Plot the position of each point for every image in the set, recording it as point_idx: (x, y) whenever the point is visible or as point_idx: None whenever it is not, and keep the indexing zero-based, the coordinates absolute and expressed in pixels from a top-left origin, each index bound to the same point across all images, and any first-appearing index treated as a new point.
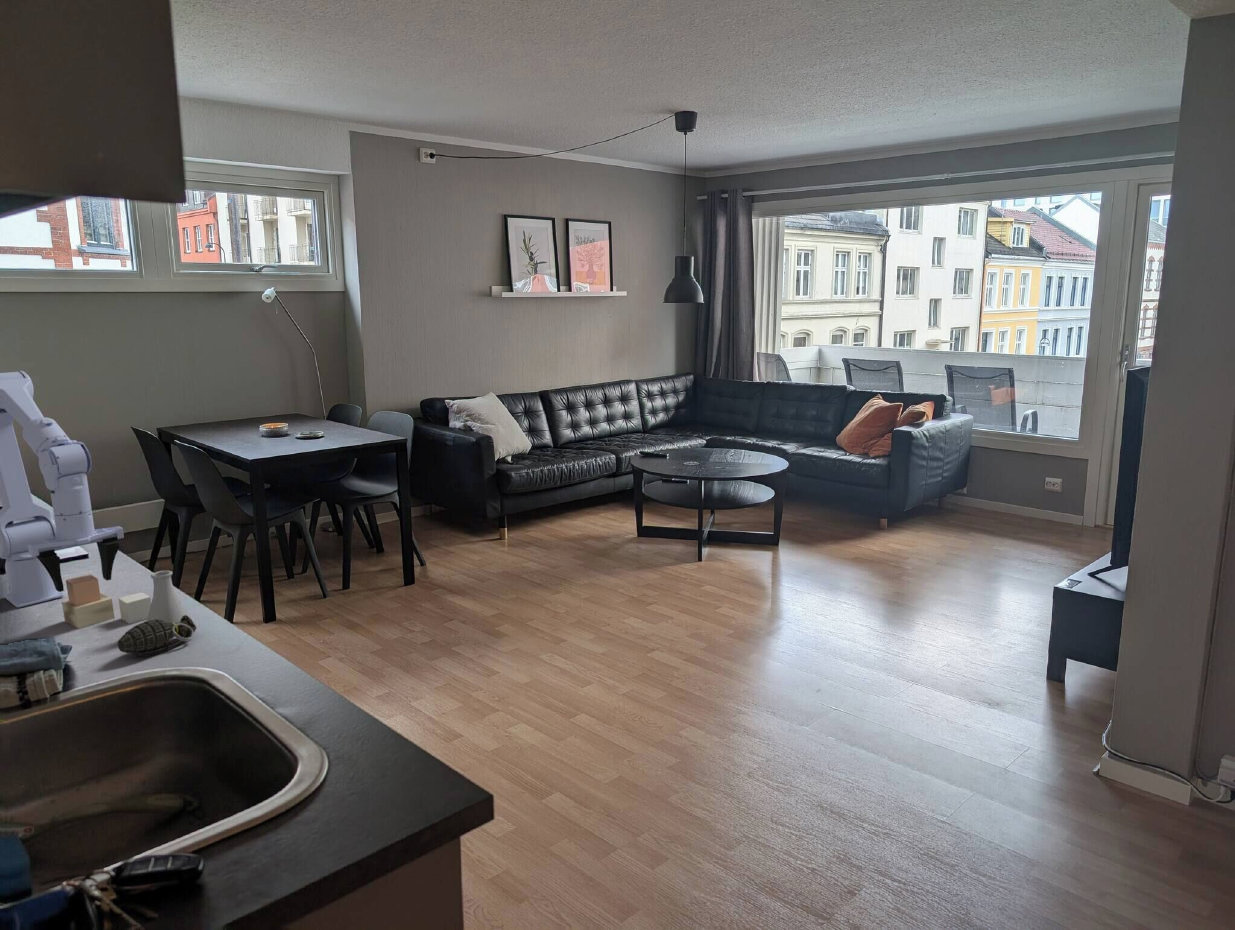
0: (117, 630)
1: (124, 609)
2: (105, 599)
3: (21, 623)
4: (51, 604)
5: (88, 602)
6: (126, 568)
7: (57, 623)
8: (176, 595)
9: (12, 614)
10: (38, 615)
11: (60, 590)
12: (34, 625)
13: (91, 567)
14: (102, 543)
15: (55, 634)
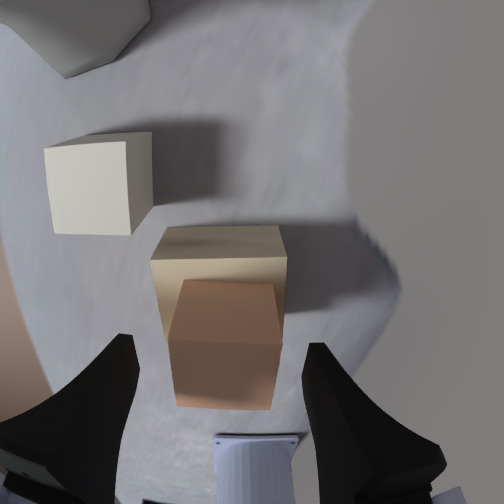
0: (203, 98)
1: (138, 171)
2: (170, 269)
3: None
4: (246, 420)
5: (228, 282)
6: None
7: (294, 313)
8: None
9: None
10: (293, 387)
11: (323, 345)
12: (332, 338)
13: (144, 483)
14: (78, 496)
15: (339, 231)
